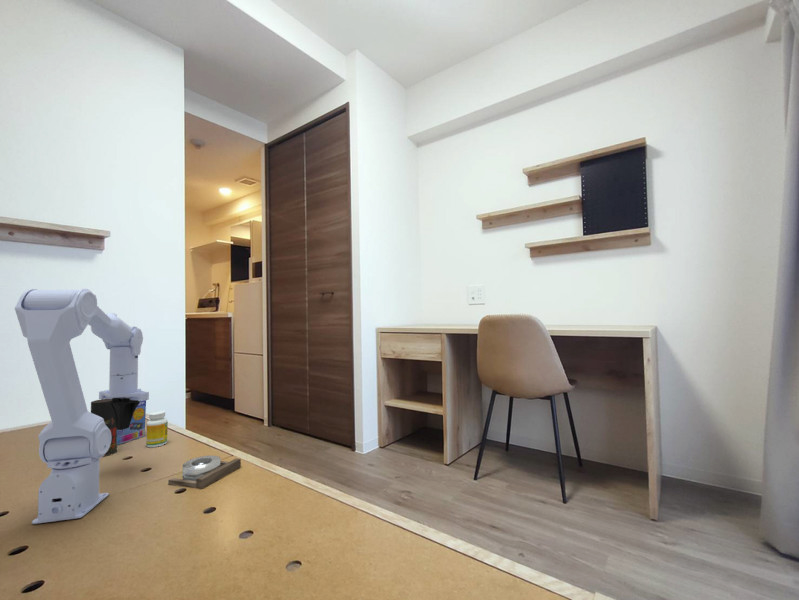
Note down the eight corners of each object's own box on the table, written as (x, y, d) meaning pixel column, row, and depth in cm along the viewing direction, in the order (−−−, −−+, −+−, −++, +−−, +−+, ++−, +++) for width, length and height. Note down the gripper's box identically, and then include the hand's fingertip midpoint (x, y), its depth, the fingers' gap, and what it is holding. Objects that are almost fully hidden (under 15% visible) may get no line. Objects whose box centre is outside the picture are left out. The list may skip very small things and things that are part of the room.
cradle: (240, 467, 90) (240, 458, 90) (201, 488, 79) (201, 479, 79) (210, 463, 93) (210, 455, 93) (168, 484, 82) (168, 475, 82)
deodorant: (85, 458, 99) (86, 403, 100) (96, 451, 105) (97, 399, 105) (110, 456, 100) (111, 401, 101) (120, 449, 106) (121, 397, 107)
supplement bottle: (145, 444, 110) (145, 412, 110) (166, 440, 113) (166, 409, 113) (146, 449, 105) (147, 416, 106) (168, 444, 109) (168, 412, 109)
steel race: (214, 480, 84) (214, 466, 84) (176, 483, 82) (176, 470, 82) (224, 466, 91) (224, 453, 92) (190, 469, 90) (190, 456, 90)
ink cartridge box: (115, 446, 109) (115, 397, 109) (102, 445, 110) (102, 397, 111) (146, 436, 118) (147, 391, 119) (134, 434, 120) (134, 390, 121)
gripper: (160, 372, 93) (159, 425, 92) (119, 371, 97) (118, 422, 96) (133, 376, 86) (132, 434, 85) (90, 375, 90) (89, 430, 89)
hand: (123, 428), depth 90 cm, fingers closed
